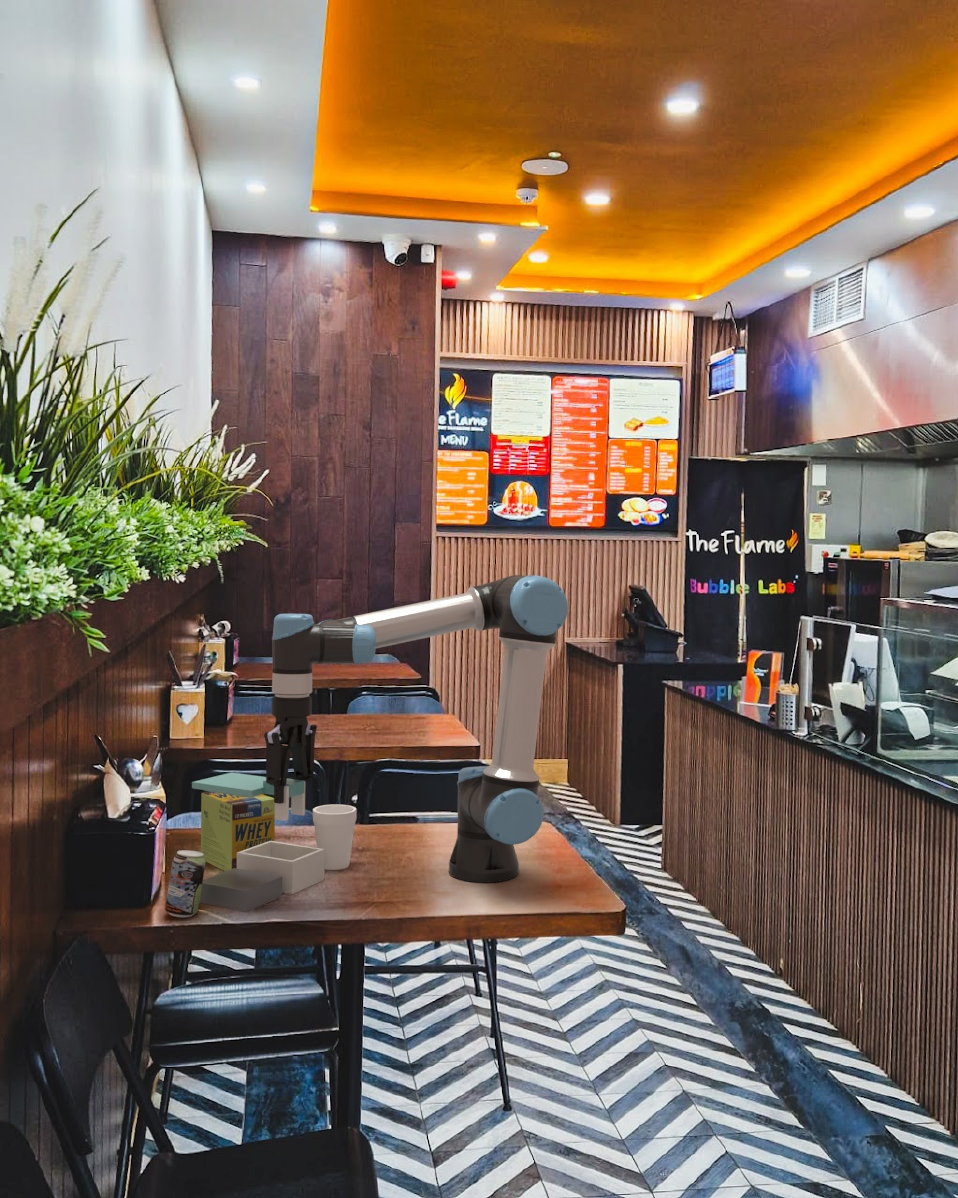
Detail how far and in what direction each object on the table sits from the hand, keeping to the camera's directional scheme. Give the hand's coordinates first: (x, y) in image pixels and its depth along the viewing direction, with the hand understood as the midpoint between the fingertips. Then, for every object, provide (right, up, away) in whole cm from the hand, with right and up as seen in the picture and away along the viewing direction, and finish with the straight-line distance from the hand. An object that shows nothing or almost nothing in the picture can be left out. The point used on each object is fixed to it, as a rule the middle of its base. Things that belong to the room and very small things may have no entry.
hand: (289, 816), depth 201 cm
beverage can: (-19, -18, -3) cm, 27 cm away
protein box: (-17, -17, +31) cm, 39 cm away
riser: (-11, -18, +5) cm, 21 cm away
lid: (-8, +4, +4) cm, 10 cm away
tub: (-5, -17, +17) cm, 25 cm away
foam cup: (+4, -17, +29) cm, 34 cm away
